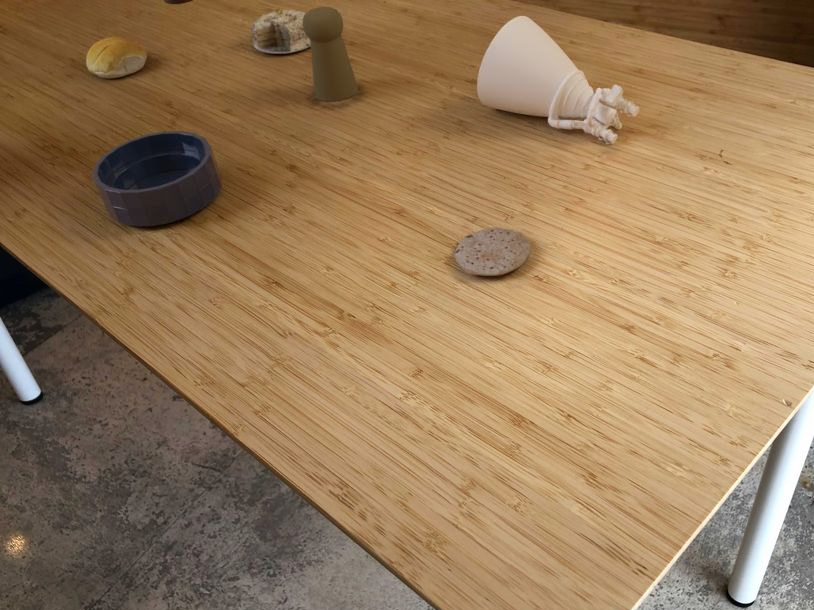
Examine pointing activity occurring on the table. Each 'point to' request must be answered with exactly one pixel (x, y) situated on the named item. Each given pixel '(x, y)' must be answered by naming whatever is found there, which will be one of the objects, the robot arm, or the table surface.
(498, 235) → the flatbread
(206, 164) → the bowl
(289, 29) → the cake
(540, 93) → the rocket engine
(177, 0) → the brown pestle
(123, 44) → the bread roll
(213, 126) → the table surface
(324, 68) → the olive game pawn
